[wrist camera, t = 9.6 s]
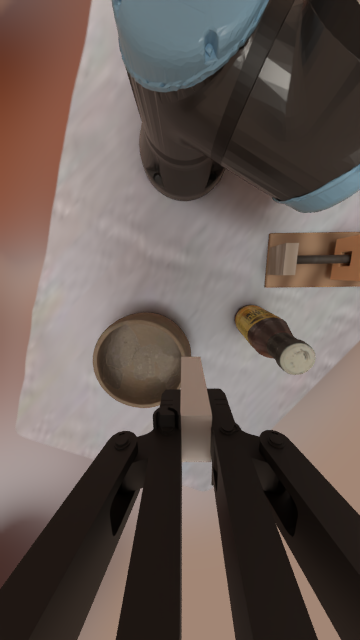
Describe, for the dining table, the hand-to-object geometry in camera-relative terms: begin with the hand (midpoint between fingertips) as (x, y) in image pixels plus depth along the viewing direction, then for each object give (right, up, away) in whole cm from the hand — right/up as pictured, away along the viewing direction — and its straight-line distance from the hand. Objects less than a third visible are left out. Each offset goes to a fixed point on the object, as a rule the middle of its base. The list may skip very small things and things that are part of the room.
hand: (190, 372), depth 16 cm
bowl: (-8, -1, +28) cm, 29 cm away
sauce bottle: (+13, +5, +26) cm, 30 cm away
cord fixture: (+26, +16, +23) cm, 38 cm away
